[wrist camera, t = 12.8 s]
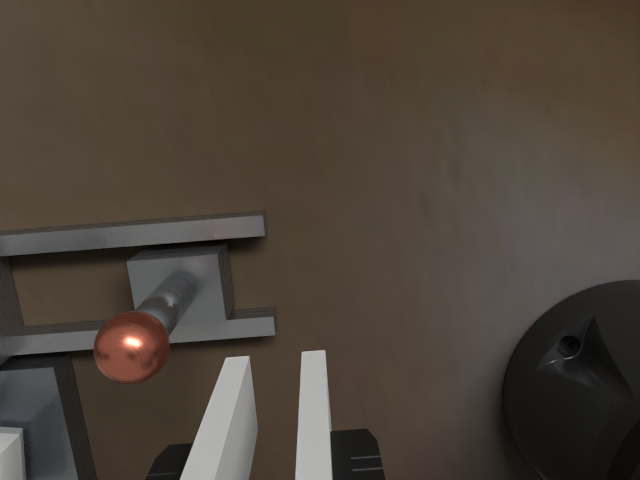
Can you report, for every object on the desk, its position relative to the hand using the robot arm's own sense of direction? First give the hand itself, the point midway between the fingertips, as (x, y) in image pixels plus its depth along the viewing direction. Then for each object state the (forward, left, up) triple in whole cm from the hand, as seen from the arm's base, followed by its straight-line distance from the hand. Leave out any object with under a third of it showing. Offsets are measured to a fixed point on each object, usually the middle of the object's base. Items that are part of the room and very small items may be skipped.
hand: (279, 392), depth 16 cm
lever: (+7, 0, -14) cm, 16 cm away
